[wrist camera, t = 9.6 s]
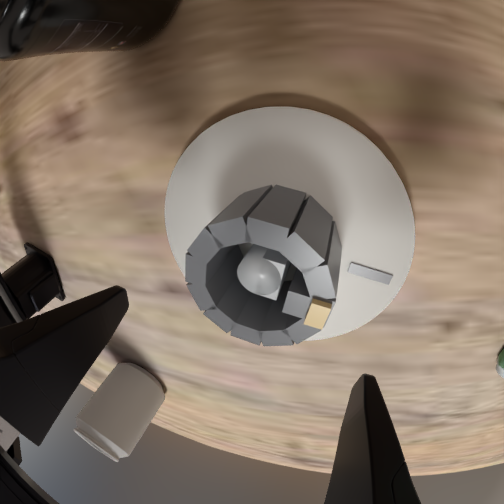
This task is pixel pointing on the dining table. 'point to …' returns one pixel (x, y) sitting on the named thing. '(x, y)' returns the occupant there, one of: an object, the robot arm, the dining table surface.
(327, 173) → the shaft hub
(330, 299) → the grey segmented ring
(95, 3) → the supplement bottle
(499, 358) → the dish towel
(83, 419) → the can
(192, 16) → the dining table surface
